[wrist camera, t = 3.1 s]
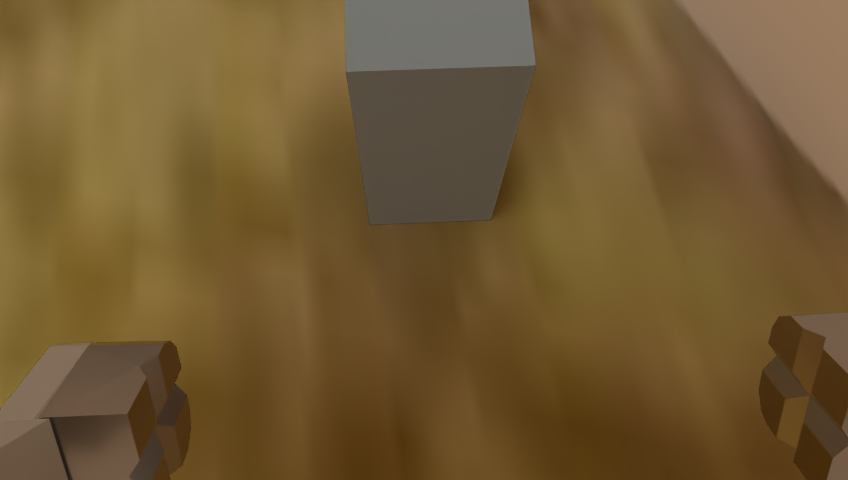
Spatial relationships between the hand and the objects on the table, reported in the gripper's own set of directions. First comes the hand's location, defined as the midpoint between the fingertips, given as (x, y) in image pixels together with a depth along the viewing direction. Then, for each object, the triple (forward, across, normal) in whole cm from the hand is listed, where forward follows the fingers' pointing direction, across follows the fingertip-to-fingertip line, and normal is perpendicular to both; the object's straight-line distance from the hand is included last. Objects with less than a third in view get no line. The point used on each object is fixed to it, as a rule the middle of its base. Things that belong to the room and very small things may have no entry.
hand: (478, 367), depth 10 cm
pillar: (+15, 0, +2) cm, 15 cm away
